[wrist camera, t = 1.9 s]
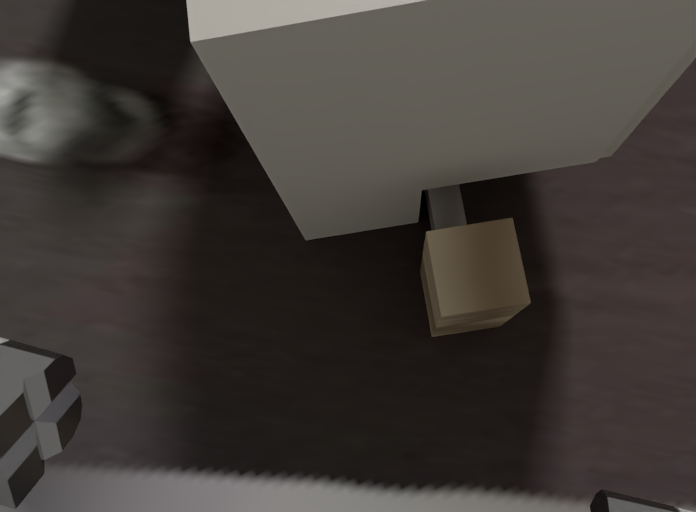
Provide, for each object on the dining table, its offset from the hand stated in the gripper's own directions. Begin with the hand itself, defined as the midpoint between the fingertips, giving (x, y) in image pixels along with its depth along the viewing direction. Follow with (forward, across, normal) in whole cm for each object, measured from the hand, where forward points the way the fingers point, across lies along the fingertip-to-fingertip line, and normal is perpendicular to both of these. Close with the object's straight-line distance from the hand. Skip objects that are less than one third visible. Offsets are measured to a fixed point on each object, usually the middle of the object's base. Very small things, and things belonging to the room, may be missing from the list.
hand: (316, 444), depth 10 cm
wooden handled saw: (+30, 0, +8) cm, 31 cm away
